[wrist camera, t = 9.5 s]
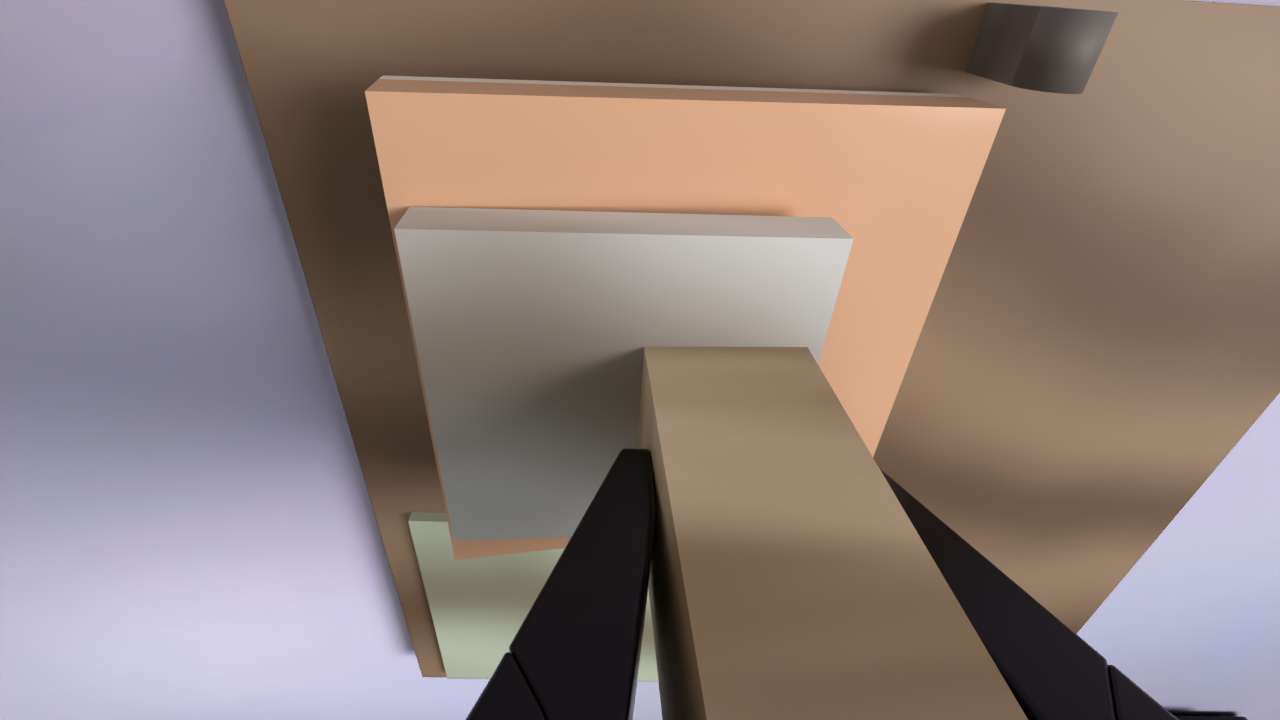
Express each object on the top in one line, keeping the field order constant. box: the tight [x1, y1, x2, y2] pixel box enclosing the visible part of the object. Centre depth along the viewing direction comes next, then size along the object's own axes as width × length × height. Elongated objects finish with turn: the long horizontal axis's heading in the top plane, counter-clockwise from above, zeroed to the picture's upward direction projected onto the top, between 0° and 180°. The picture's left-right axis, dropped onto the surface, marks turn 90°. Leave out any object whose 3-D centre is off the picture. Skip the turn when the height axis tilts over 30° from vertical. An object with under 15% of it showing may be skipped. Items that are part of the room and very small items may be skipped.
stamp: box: [394, 207, 1028, 720], centre depth 7 cm, size 6×6×8 cm
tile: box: [365, 76, 1006, 560], centre depth 11 cm, size 9×9×1 cm
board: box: [224, 0, 1280, 682], centre depth 14 cm, size 21×22×3 cm
